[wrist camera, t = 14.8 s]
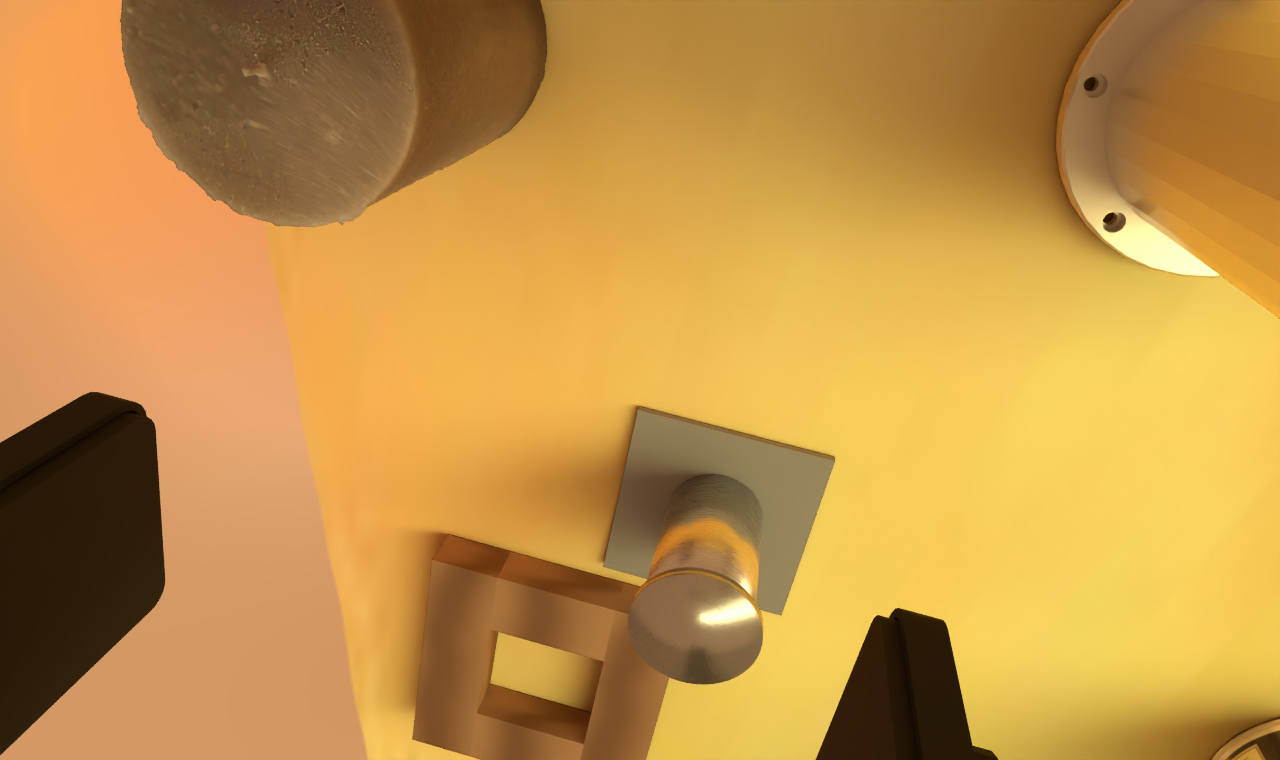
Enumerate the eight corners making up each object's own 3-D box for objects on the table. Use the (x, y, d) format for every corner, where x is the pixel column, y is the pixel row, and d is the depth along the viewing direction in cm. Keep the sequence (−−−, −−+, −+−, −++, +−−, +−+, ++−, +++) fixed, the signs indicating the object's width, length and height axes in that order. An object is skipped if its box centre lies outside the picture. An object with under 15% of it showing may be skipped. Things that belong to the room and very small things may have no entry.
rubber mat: (834, 457, 43) (834, 461, 43) (781, 610, 48) (781, 615, 47) (639, 406, 44) (637, 409, 44) (604, 562, 48) (603, 566, 48)
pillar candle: (458, -139, 35) (233, -209, 22) (593, 76, 38) (466, 133, 24) (296, 5, 39) (17, 21, 25) (428, 193, 41) (239, 298, 28)
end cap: (784, 484, 44) (778, 598, 36) (754, 574, 46) (743, 699, 38) (672, 454, 44) (642, 560, 36) (649, 544, 47) (616, 662, 39)
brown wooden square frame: (688, 600, 48) (682, 629, 46) (640, 771, 55) (633, 804, 52) (448, 534, 49) (432, 559, 47) (427, 710, 56) (412, 739, 53)
